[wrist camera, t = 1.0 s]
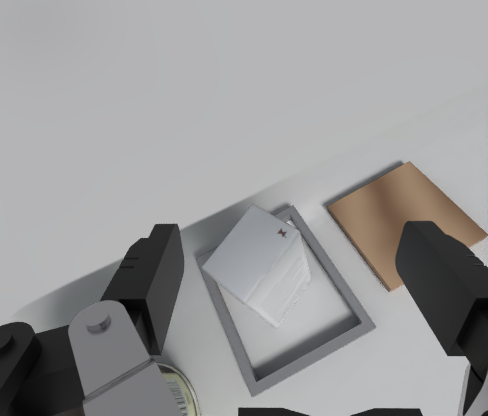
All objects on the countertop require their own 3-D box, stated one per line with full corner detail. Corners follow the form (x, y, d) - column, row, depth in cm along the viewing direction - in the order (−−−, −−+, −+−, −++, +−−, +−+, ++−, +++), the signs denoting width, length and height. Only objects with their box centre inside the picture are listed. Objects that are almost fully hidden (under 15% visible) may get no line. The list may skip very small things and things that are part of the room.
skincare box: (278, 256, 32) (253, 199, 22) (312, 279, 30) (303, 229, 20) (242, 303, 31) (198, 267, 21) (276, 331, 29) (246, 306, 19)
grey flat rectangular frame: (294, 210, 34) (293, 205, 33) (374, 329, 27) (376, 326, 26) (200, 262, 34) (196, 258, 33) (254, 396, 27) (251, 397, 26)
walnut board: (407, 166, 33) (409, 161, 33) (483, 239, 28) (488, 234, 27) (327, 210, 33) (327, 206, 32) (389, 292, 28) (390, 289, 27)
